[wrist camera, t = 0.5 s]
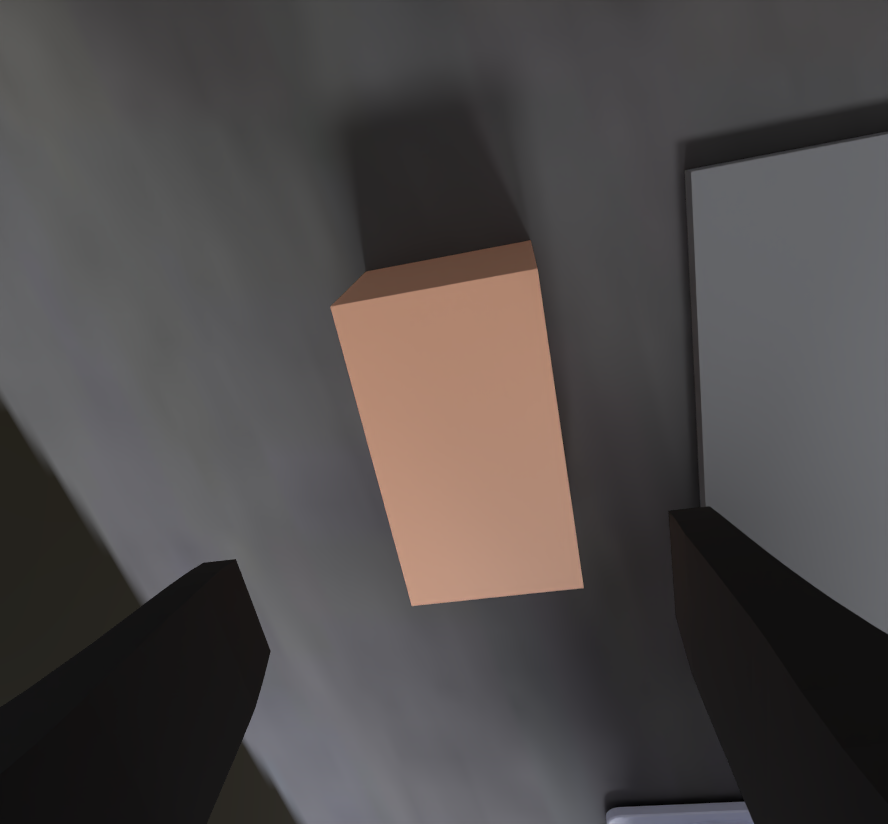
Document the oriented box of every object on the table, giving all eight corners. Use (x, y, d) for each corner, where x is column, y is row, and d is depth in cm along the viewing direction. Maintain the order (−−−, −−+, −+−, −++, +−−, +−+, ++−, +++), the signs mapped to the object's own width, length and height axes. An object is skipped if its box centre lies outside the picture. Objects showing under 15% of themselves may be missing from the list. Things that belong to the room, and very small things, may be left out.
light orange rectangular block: (569, 503, 20) (583, 587, 16) (428, 520, 20) (411, 605, 17) (530, 239, 17) (537, 268, 13) (367, 270, 17) (330, 306, 14)
